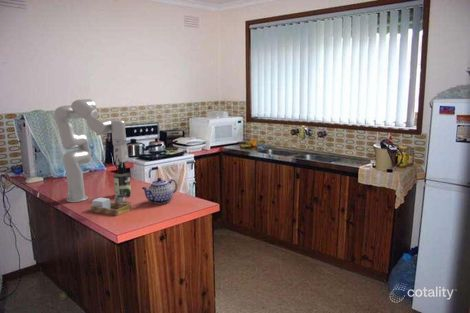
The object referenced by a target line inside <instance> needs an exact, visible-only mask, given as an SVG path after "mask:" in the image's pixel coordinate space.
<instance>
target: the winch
mask: <svg viewBox="0 0 470 313" xmlns="http://www.w3.org/2000/svg"><path fill="white" fill-rule="evenodd" d="M114 202H116V203H123V204H132V202H131V201H127V200H126V197H117V196H114Z"/></svg>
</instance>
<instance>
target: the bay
mask: <svg viewBox="0 0 470 313" xmlns="http://www.w3.org/2000/svg"><path fill="white" fill-rule="evenodd" d="M110 204H111V209H109V208H102V207H96V206H93V205H91V206H89V207H90V212H91V213H98V214H104V215H111V216H117V217H118V216H120V215H123V214H124V213H125V214H126V213H127V212H129V211H132V203H129V204H123V203H116V202H115V201H110Z"/></svg>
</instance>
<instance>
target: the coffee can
mask: <svg viewBox="0 0 470 313" xmlns="http://www.w3.org/2000/svg"><path fill="white" fill-rule="evenodd" d="M112 177H113V184H114V195H115V196H117V195H118V194H122V195H126V189H128V188H129V189H130V195H131V196H132V188H131V174H130V173H128V172H126V173H124V174H118V173H116V174H114V175H113V176H112ZM115 196H114V197H115Z"/></svg>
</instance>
